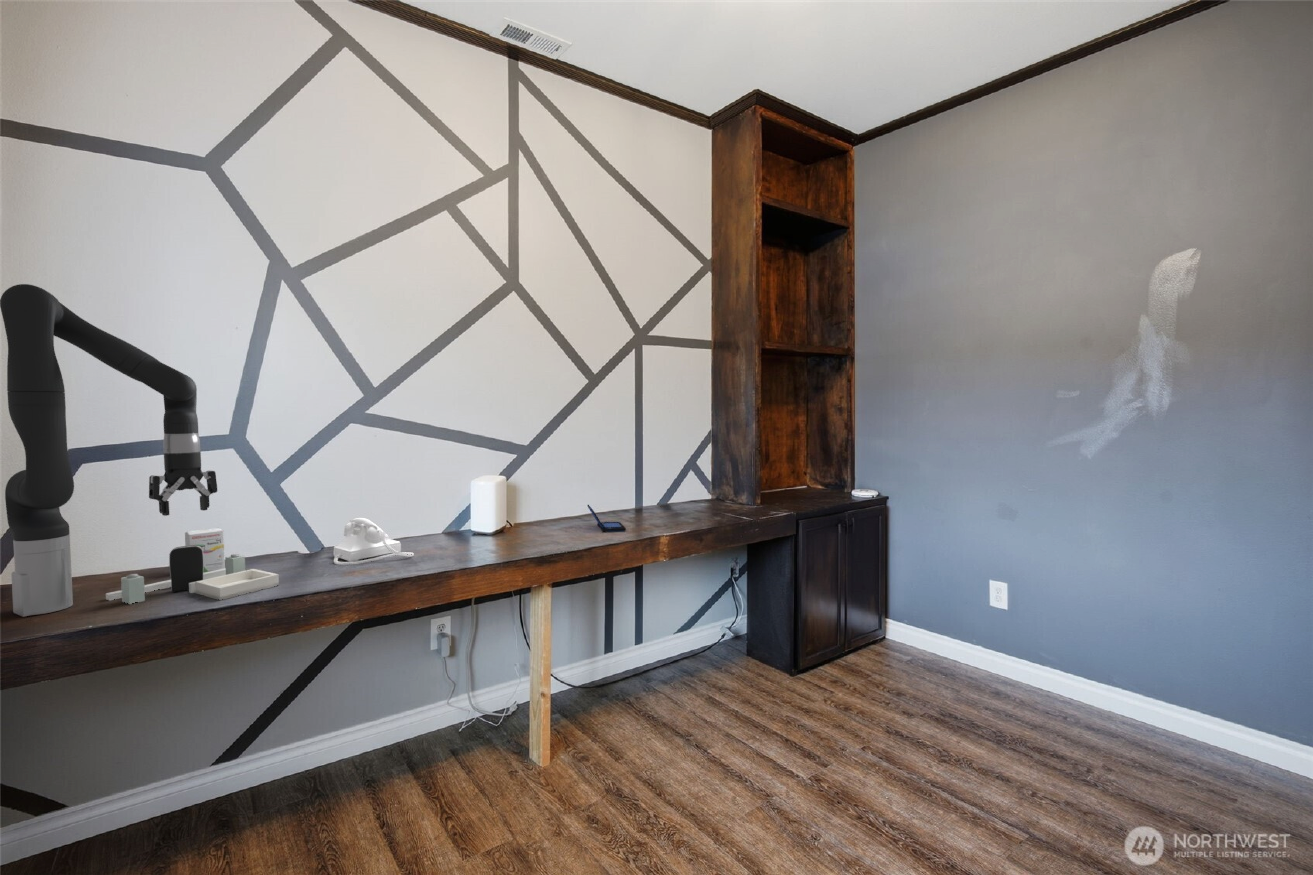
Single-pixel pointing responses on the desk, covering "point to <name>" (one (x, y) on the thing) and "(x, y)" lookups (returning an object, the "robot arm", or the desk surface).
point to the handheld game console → (608, 524)
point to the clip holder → (168, 581)
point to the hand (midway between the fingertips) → (185, 512)
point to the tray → (236, 584)
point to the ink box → (208, 546)
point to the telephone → (365, 543)
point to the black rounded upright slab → (185, 566)
